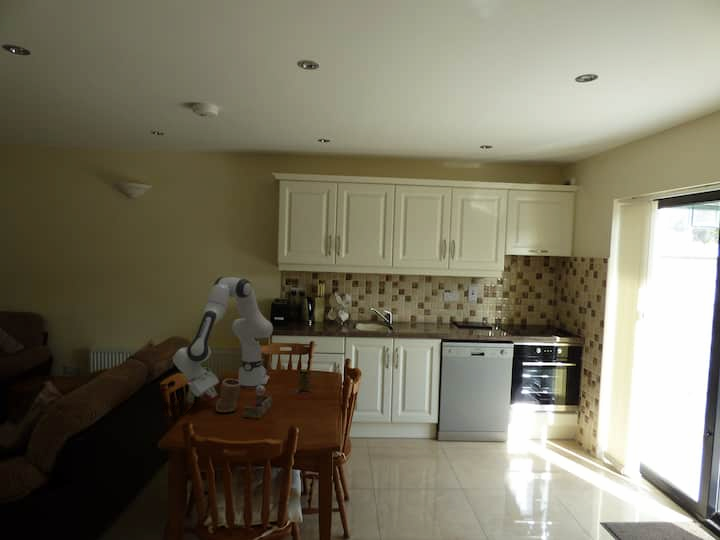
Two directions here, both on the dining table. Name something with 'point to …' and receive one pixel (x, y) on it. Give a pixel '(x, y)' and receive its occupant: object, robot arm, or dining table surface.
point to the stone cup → (228, 395)
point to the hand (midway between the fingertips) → (214, 396)
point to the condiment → (303, 381)
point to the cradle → (262, 401)
